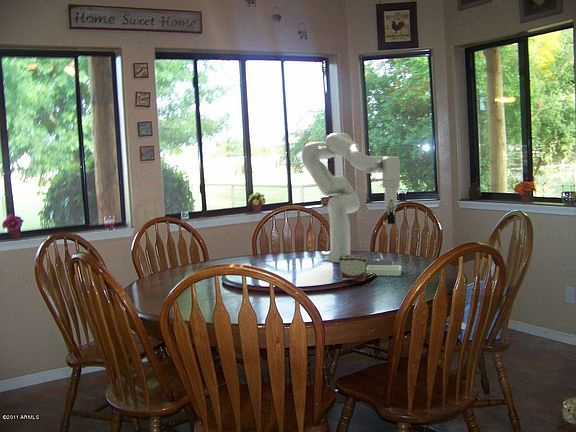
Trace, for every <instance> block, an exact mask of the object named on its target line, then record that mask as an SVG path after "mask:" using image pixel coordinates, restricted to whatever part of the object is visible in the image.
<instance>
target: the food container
mask: <svg viewBox="0 0 576 432" xmlns="http://www.w3.org/2000/svg"><path fill="white" fill-rule="evenodd" d="M338 261H340V262H339V268H340V276H341V279H342V278H361V279H365V278H366V268H367V263H368V264H369V260H368V258H367V256H366V255H363V254H362V255H361V254H350V255H343V256H339V259H338Z"/></svg>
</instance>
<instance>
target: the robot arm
mask: <svg viewBox="0 0 576 432" xmlns="http://www.w3.org/2000/svg"><path fill="white" fill-rule="evenodd" d="M338 155H339V156H340V157H342V158H344V159H346V160H347V161H348V162H349V164H350V165H351V166H352V167H353V168H355V169H357V170H358V171H361V172H362V173H363V172H364V173H365V174H374V173H377V174H378V173H382V188H383V189H384V210H385V211H387V224H388V225H395V224H396V222H395V221H396V212H395V210H396V209H397V201H398V189H399V188H400V187H401V186H400V184H401V180H400V176H401V175H400V172H401V171H400V168H401V167H400V166H401V164H400V162H401V161H400V158H399V156H396V155H395V156H394V155H393V156H391V155H390V156H389V155H388V156H385V155H366V154H365V153H363V152H361V151H360V145H359V144H358V143H357V142H355V141H353V139H352V137H351V136H350V135H349V134H348V133H345V132H334V133H330V134H329V135H327V136H326V138H325V140H324V141H313V142H308V143H307V144H305V145H304V147H303V149H302V153H301V159H302V160H301V161H302V163H303V165H304V167H305V169H306V170H307V171H308V173H309V174H310V176H311V177H312V179H313V181H314V182H315V184H316V186H317V187H318V189H319V191H320V192H321V194H322V195H324V196H325V197H330V196H331V197H330V198H329V199H328V202H327V212H328V217H329V235H330V236H329V238H330V239H329V242H330V245H329V246H330V247H329V248H330V250H329V251H321V252H320V253H321V255H320V256H321V257H327V261H328V262H330V263H340V261H338V259H339V256H343V255H351V223H350V219H349V215H348V214H353V213H355V212H357V211H358V210H359V208H360V206H361V205H360V204H361V203H360V199H359V196H358V194H357V193H356V192H355V190H354V188H353V187H352V185H351V184H350V182H349V181H348V179H347V178H346V177H344V176H342V175H333V174H332V173H331V171H330V170H329V169H328V166H326V164H324V163H323V162H322V161H321V160H328V159H332V158H334V157H336V156H338Z"/></svg>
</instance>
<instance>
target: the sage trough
mask: <svg viewBox="0 0 576 432" xmlns="http://www.w3.org/2000/svg"><path fill="white" fill-rule="evenodd" d="M366 273H375V274H376V275H375V276H395V277H396V276H398V277H399V276H402V264H401V265H399V264H398V265H397V264H396V265H395V264H394V265H369V264H366V269H365V274H366Z"/></svg>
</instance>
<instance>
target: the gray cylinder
mask: <svg viewBox="0 0 576 432" xmlns="http://www.w3.org/2000/svg"><path fill="white" fill-rule="evenodd" d="M368 265H395V263H394V261H393V259H392V258H388V259H386V258H369V259H368Z"/></svg>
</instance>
